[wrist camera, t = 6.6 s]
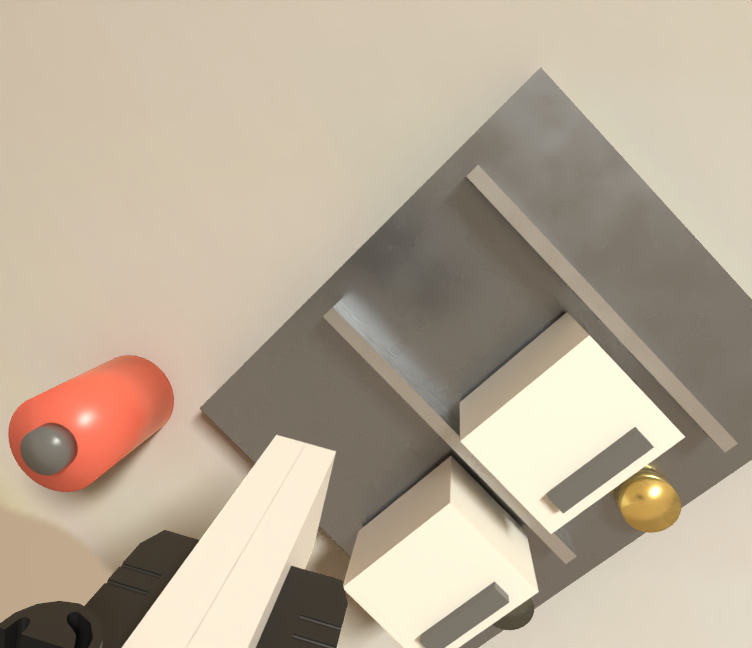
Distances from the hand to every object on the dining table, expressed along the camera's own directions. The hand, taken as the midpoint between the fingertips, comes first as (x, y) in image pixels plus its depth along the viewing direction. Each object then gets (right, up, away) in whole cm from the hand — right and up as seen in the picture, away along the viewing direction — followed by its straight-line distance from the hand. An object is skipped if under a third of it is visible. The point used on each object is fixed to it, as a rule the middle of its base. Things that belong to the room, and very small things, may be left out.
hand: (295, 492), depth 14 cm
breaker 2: (+9, +1, +10) cm, 14 cm away
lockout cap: (-11, 0, +16) cm, 19 cm away
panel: (+7, +1, +13) cm, 15 cm away
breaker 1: (+5, -6, +13) cm, 15 cm away
